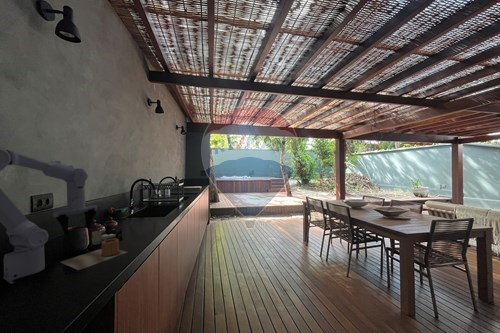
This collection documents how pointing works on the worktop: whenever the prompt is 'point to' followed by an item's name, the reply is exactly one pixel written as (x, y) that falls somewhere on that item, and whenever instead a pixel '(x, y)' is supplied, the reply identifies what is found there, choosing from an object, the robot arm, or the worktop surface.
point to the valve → (104, 236)
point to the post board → (89, 259)
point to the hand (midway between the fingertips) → (77, 230)
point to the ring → (110, 247)
